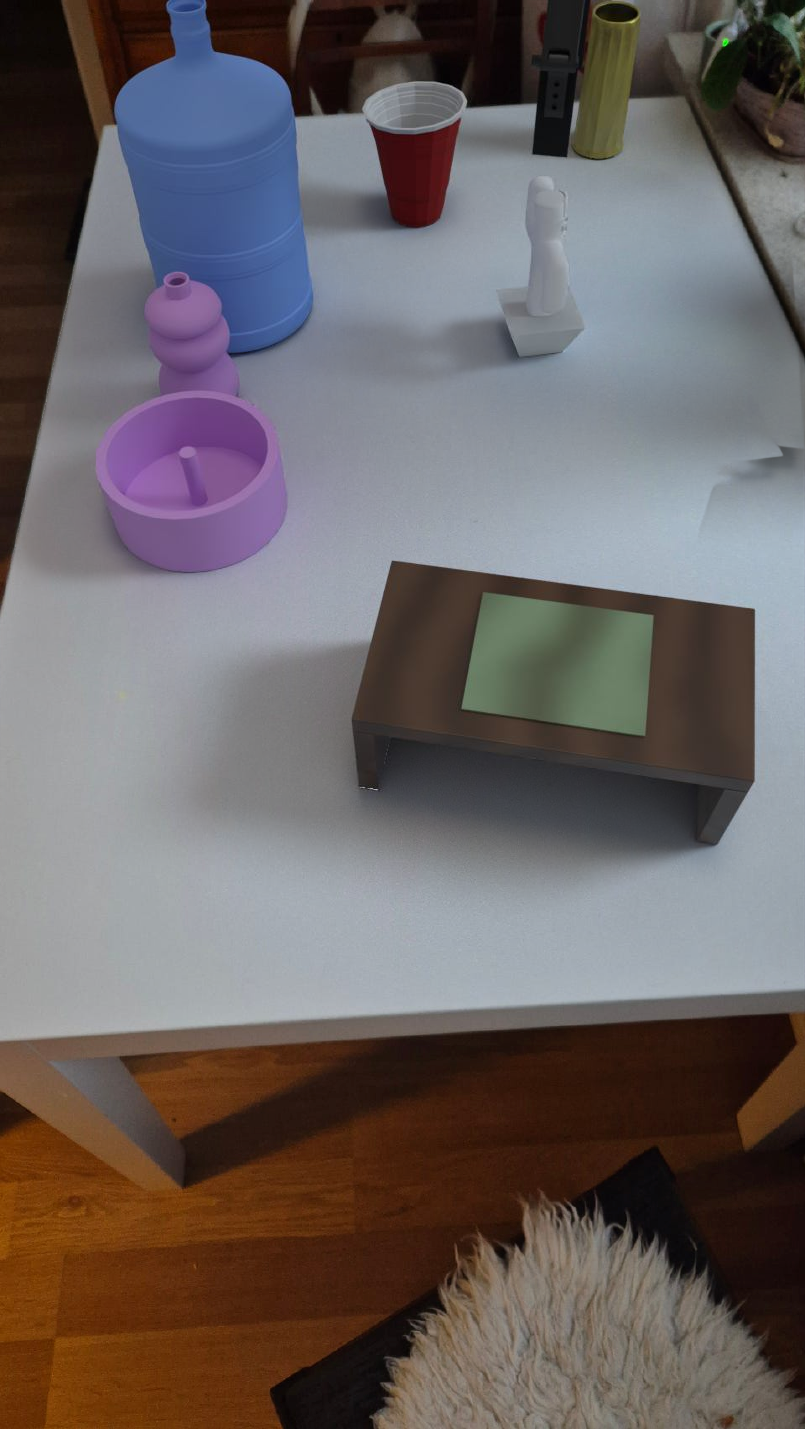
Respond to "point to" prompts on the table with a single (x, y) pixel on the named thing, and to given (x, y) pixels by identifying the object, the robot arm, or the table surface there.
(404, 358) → the table surface
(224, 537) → the container set
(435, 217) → the plastic cup
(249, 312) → the water jug
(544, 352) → the figurine
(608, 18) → the vase
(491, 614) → the shelf
